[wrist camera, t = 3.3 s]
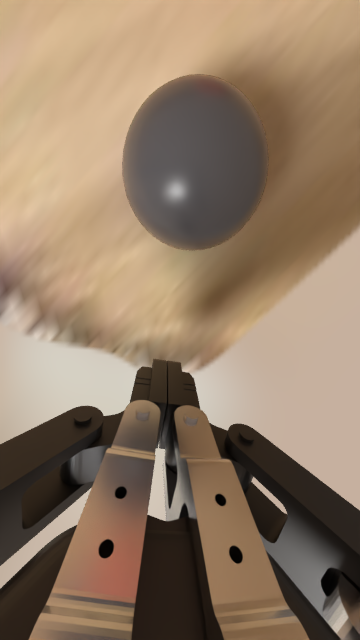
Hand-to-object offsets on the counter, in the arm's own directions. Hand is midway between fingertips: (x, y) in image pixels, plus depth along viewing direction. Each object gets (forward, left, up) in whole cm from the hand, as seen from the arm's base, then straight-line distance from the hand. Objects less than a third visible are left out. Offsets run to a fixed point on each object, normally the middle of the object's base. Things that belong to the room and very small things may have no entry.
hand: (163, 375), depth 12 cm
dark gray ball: (+3, +9, 0) cm, 10 cm away
